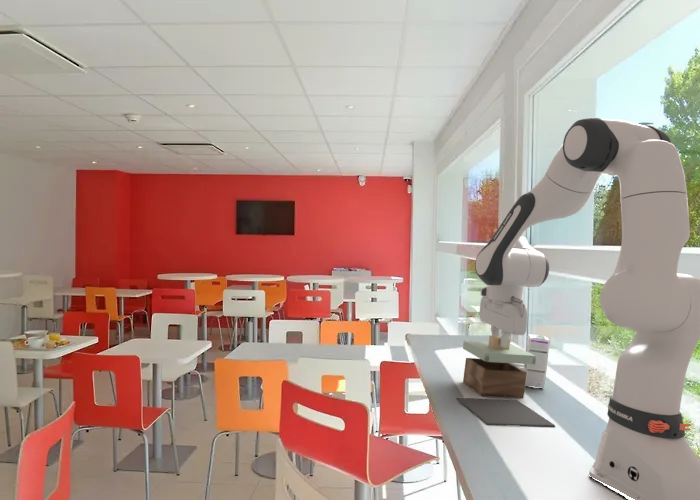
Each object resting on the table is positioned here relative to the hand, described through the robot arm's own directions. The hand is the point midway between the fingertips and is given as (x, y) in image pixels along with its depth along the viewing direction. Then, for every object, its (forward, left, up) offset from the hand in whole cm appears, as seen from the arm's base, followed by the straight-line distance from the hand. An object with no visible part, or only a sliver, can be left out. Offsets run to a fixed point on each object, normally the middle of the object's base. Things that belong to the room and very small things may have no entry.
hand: (499, 344), depth 152 cm
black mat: (-17, +6, -13) cm, 22 cm away
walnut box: (0, 0, -13) cm, 13 cm away
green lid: (0, 0, -3) cm, 3 cm away
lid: (+19, -17, -13) cm, 29 cm away
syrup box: (+6, -16, -13) cm, 21 cm away
